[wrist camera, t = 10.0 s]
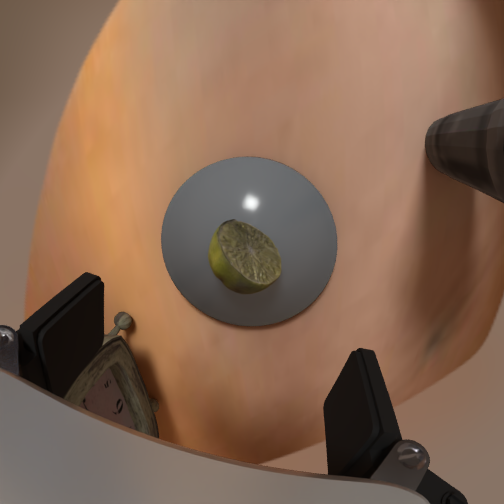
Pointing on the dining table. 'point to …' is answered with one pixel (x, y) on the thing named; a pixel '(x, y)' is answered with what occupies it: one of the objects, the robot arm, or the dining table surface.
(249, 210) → the slate plate
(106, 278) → the dining table surface
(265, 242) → the lime
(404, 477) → the robot arm
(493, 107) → the beverage cup
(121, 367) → the tabletop clock
